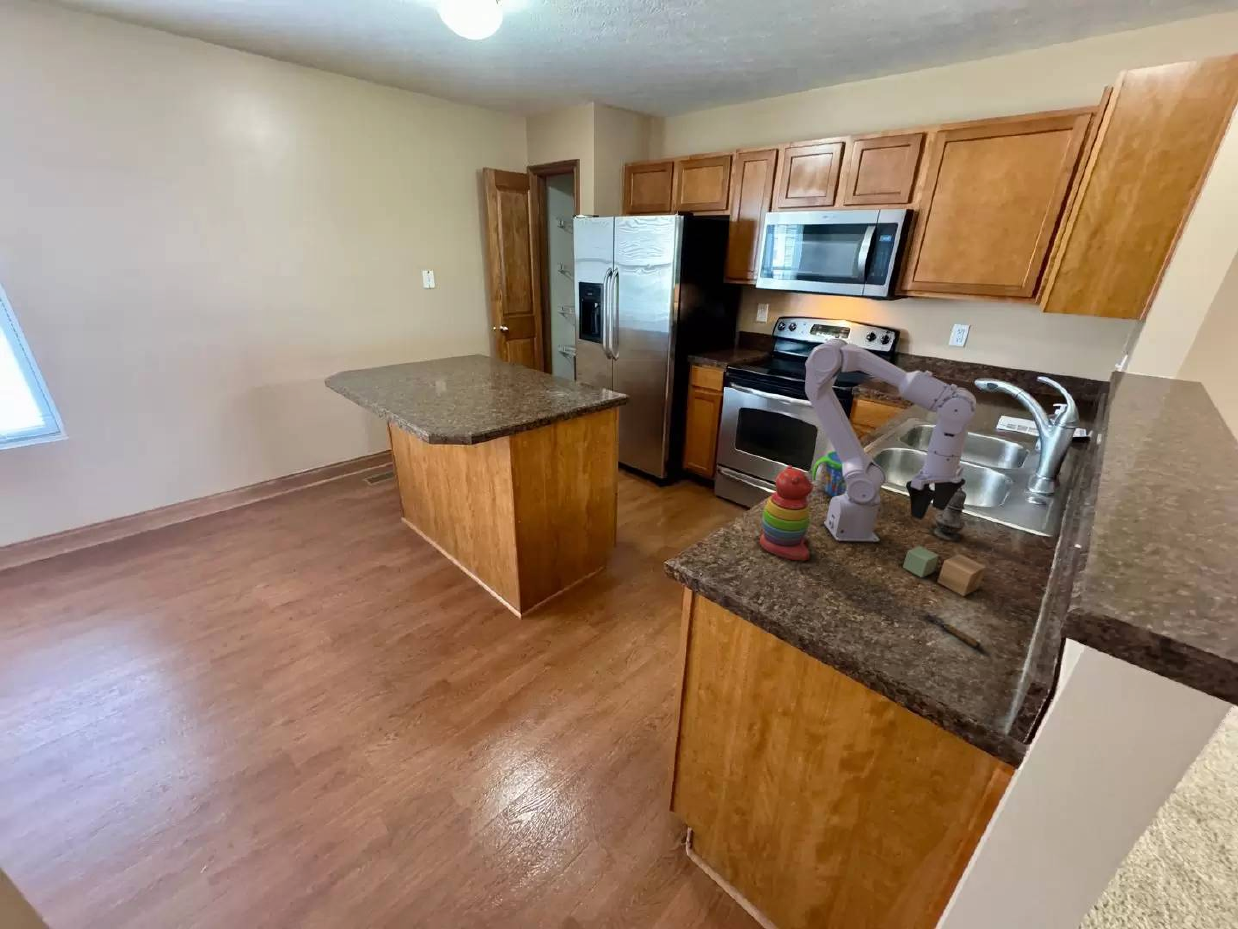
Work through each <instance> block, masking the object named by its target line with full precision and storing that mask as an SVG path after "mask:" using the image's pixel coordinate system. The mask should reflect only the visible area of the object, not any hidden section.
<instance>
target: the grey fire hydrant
mask: <svg viewBox="0 0 1238 929" xmlns="http://www.w3.org/2000/svg"><path fill="white" fill-rule="evenodd" d="M966 499H967V493H966V492H965V491H963V487H962V486H961V487H960V488H959V489H958V490H957V492H956V493H955V494H954V495H953V497H952V498H951V500H950V501H949V503H948V505H947V506H946V508H945V509H944V510H945V511H944V512H943V513H941V514H936V515H935V517H934V518H935V524H936V527H934V528H933V529H932V534H934V536H936V537H938V538H940V539H942V540H946V541H958V540H959V539H960V535H959V534H958V533H960V532H961V531H962V530H963V528H965V527H966V522H965V521H964V520H963V519H961V515H962V512H963V510H965V509H966V508H965V506H964V505H965V502H966Z"/></svg>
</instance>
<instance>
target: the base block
mask: <svg viewBox="0 0 1238 929" xmlns="http://www.w3.org/2000/svg"><path fill="white" fill-rule="evenodd" d="M985 570H986V566H985V565H984V564H981V563H979V562H977V561H975V560H972V559H970V558H968V557H966V556H964V555H962V554H960V553H957V554H955V555H954V556H951V557H949V558H947V559H945V560H943V564H942V567H941V569H940V573H939V575H938V579H937V583H938V584H940V585H942V586H944V587H945V588H947V589H949V590H951V591H953V592H954V593H956V594H958V595H960V596H962V597H965V596H967V595H969V594H971V593H973V592H974V591H976V590H978V589H979V587H980V584H981V581H982V579H983V576H984V573H985Z"/></svg>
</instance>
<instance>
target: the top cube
mask: <svg viewBox="0 0 1238 929" xmlns="http://www.w3.org/2000/svg"><path fill="white" fill-rule="evenodd" d="M939 556H940V554H939V555H938V553H935V552H934V551H931V550H929V549H927V548H925V547H923V546H921V545H918V546H915V547H913V548H911V549H908V550H907V552H906V556H905V559H904V561H903V562H904V563H903V566H902V568H904V569H905V570H907V571H909V572H911V573H912V574H914V575H916V576H918V577H920V578H925V577H926V576H928V575H930V574H932V573H934V571H935V568H936V565H937V562H938V559H939Z"/></svg>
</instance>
